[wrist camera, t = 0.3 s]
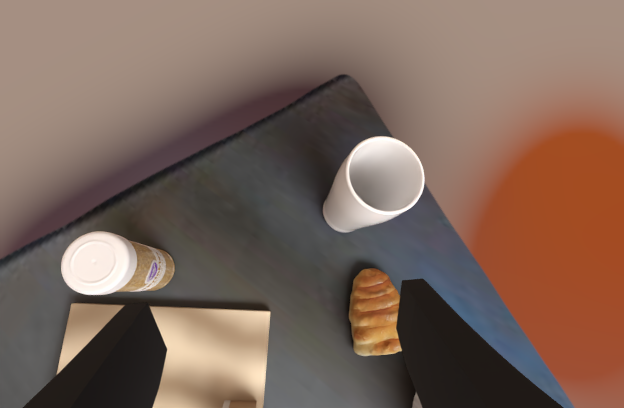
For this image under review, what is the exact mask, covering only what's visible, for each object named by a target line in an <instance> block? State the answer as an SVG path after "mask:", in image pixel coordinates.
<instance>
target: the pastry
mask: <svg viewBox="0 0 624 408" xmlns="http://www.w3.org/2000/svg"><path fill="white" fill-rule="evenodd" d="M352 289H353V290H352V293H351V296H350V298H351V299H350V307H349V309H350V310H349V320H350V322H351V326H352V327H351V329H352V337H353V341H354V345H353V348H354V351H355V353H357V354H358V355H362V356H369V355H386V354H394V353H396V352H398V351H402V349H401V346H400V342H399V338H398V334H397V330H396V325H397V317H398V309H399V301H400V296H399V294H398V292H397V290H396V289H395V288H394V286H393V285H392V283H391V281H390V279H389V277H388V275H386V274H385V273H384V272H382V271H380V270H378V269H375V268H370V269H364V270H362V271H361V272H360V273H359V274H358V275H357V276H356V277H355V279H354V281H353V288H352Z"/></svg>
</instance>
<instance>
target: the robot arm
mask: <svg viewBox="0 0 624 408" xmlns="http://www.w3.org/2000/svg"><path fill="white" fill-rule="evenodd" d="M396 330H397V334H398V338H399V342H400V346H401V349H402V353H403V357H404V360H405V364H406V366H407V369H408V372H409V374H410V377H411V380H412V382H413V385H414V387H415V390H416V393H417V395H418V398H419V400H420V403H421V405H422V408H563V407H562V406H561V405H560V404H558V403H557V402H556V401H554V400H553V399H552V398H551V397H549V396H548V395H547V394H546V393H544V392H543V391H542V390H541V389H539V388H538V387H537V386H536V385H535V384H533V383H532V382H531V381H530V380H529V379H527V378H526V377H525V376H524V375H523V374H522V373H520V372H519V371H518V370H517V369H516V368H515V367H514V366H512V365H511V364H510V363H509V362H508V361H507V360H506V359H504V358H503V357H502V356H501V355H500V354H499V353H498V352H497V351H496V350H495V349H493V348H492V347H491V346H490V345H489V344H488V343H487V342H486V341H485V340H484V339H483V338H482V337H481V336H480V335H479V334H478V333H477V332H475V331H474V330H473V329H472V328H471V327H470V326H469V325H468V324H467V323H466V322H465V321H464V320H463V319H462V318H461V317H460V316H459V315H458V314H457V313H456V312H455V311H454V310H453V309H452V308H451V307H450V306H449V305H448V304H447V303H446V302H445V301H444V300H443V299H442V297H441V296H440V295H439V294H438V293H437V292H436V291H435V290H434V289H433V288H432V287H431V286H430V285H429V284H428V283H427V282H426V281H425V280H424V279H414V280H402V285H401V293H400V301H399V309H398V317H397V325H396ZM166 354H167V347H166V345H165V343H164V340H163V338H162V335H161V333H160V331H159V328H158V326H157V323H156V321H155V319H154V316H153V314H152V312H151V309H150V307H149V304H148V303H137V304H126V305H125V306H124V307H123V308H122V309H121V310H120V311H119V312H118V313H117V314H116V315H115V316H114V317H113V318H112V319H111V320H110V321H109V322H108V323H107V324H106V325H105V326H104V327H103V328H102V329H101V330H100V331H99V332H98V333H97V334H96V335H95V336H94V337H93V338H92V340H91V341H90V342H89V343H88V344H87V345H86V346H85V347H84V348H83V349H82V350H81V351H80V352H79V353H78V354H77V355H76V356H75V357H74V358H73V359H72V360H71V361H70V362H69V363H68V364H67V365H66V366H65V367H64V368H63V369H62V370H61V371H60V372H59V373H58V374H57V375H56V376H55V377H54V378H53V379H52V380H51V381H50V382H49V383H48V384H47V385H46V386H45V387H44V388H43V389H42V390H41V391H40V392H39V393H38V394H37V395H36V396H34V397H33V398H32V399H31V400H30V401H29V402H28V403H27V404H26V405H25V406H24V407H23V408H153V405H154V402H155V399H156V396H157V393H158V390H159V386H160V382H161V377H162V373H163V369H164V364H165V359H166Z"/></svg>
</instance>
